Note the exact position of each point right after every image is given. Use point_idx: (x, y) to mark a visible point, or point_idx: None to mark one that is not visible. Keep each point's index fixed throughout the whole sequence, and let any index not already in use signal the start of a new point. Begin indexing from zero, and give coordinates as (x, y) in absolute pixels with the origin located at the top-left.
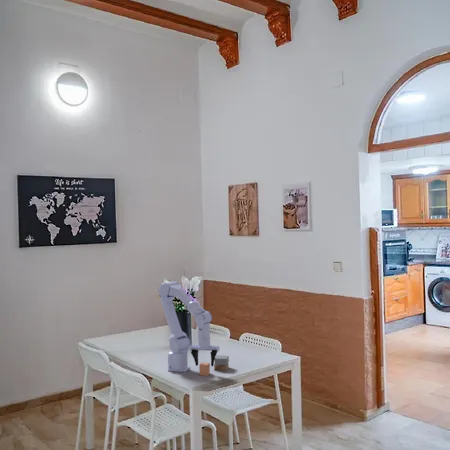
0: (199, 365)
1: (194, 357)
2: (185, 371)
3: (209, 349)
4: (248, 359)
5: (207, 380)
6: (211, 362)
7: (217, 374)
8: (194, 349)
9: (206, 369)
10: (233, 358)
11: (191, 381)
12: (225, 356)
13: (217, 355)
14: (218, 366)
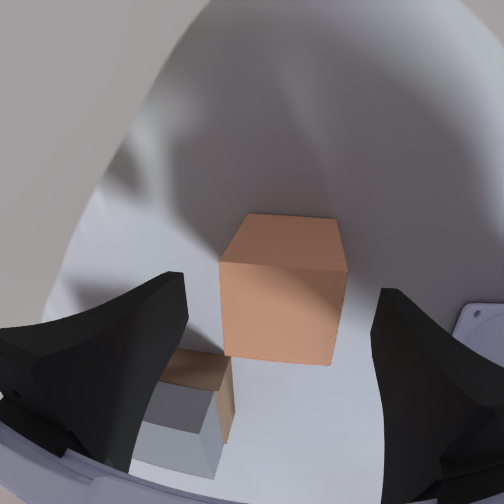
0: (346, 265)
1: (455, 348)
2: (467, 305)
3: (76, 475)
4: (133, 461)
5: (213, 67)
6: (153, 289)
7: (172, 263)
8: (476, 500)
9: (248, 237)
10: (197, 482)
11: (373, 20)
12: (140, 452)
13: (209, 477)
14: (186, 374)
